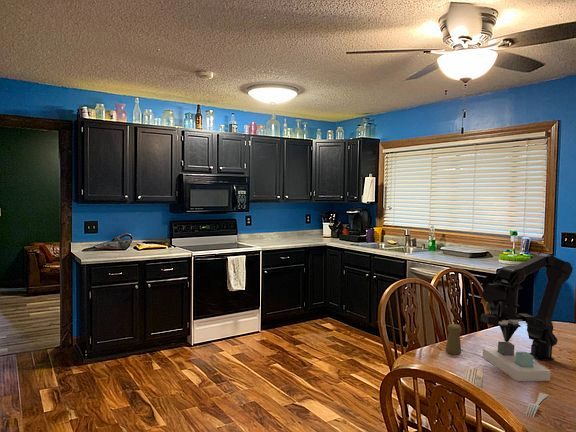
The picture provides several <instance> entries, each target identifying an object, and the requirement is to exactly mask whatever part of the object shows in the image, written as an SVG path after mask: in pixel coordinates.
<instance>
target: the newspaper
mask: <svg viewBox="0 0 576 432" xmlns="http://www.w3.org/2000/svg"><path fill="white" fill-rule="evenodd" d="M483 375H484V370H483V369H481V368H478V367H470V366H469V367H468V366H466V367H465V369H464V373H463V377H462V379H463V378H464V379H466V380H467V381H469V382H471V383H472V384H474V385H476V386H477V387H479V388H481V389H482V385H483V384H482V383H483V377H484V376H483Z"/></svg>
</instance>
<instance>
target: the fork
mask: <svg viewBox="0 0 576 432" xmlns="http://www.w3.org/2000/svg"><path fill="white" fill-rule="evenodd" d="M547 397H549V394H546V393H544V392H539V393H538V396H537V400H536V401H535V403H532V402H529V403H528V405H527V408H526V412H525V416H526V417H527V416H528V417H529V416H530V418H531V417H532V418H534V417H535V415H536V412H537V411H538V409H539V408H540V404H541V402H542V401H544V400H545V399H546V398H547Z"/></svg>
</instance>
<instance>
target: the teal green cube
mask: <svg viewBox="0 0 576 432" xmlns="http://www.w3.org/2000/svg"><path fill="white" fill-rule="evenodd" d="M529 353H530V352H528V351H518V352H516V359H515V363H516V364H518V365H519V366H521V367H533V361H534V358H535V357H534V356H532V355H531V354H529Z"/></svg>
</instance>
